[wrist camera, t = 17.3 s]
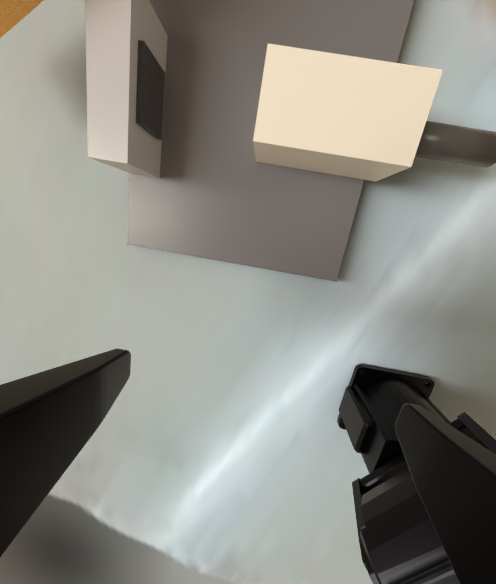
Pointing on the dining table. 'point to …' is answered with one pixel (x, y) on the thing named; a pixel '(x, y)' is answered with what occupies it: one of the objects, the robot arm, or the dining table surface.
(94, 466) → the dining table surface
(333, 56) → the plug
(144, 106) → the grey piece
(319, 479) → the dining table surface
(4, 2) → the copper metal plate
